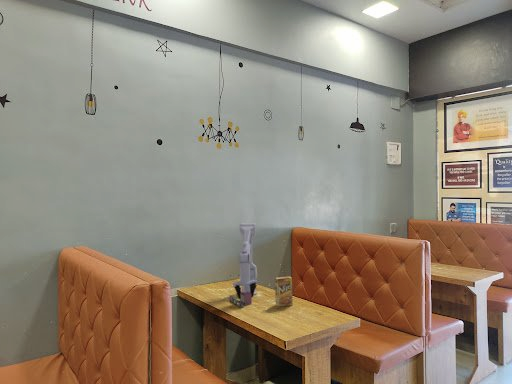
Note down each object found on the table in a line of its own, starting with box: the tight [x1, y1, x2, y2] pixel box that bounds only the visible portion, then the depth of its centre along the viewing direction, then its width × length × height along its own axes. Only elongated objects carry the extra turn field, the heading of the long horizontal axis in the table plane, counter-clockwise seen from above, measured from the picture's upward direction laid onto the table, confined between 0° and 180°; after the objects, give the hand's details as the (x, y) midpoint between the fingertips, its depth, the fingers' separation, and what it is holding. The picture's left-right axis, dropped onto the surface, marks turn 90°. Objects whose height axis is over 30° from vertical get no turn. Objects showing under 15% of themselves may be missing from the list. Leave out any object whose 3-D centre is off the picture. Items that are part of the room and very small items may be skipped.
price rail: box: [229, 295, 244, 309], centre depth 205 cm, size 18×2×2 cm, turn 24°
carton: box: [239, 290, 253, 306], centre depth 206 cm, size 4×8×6 cm, turn 24°
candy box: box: [274, 275, 294, 307], centre depth 200 cm, size 9×4×15 cm, turn 107°
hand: (245, 297), depth 206 cm, fingers open, 7 cm apart
